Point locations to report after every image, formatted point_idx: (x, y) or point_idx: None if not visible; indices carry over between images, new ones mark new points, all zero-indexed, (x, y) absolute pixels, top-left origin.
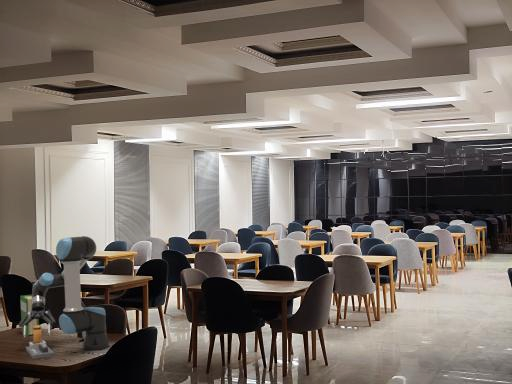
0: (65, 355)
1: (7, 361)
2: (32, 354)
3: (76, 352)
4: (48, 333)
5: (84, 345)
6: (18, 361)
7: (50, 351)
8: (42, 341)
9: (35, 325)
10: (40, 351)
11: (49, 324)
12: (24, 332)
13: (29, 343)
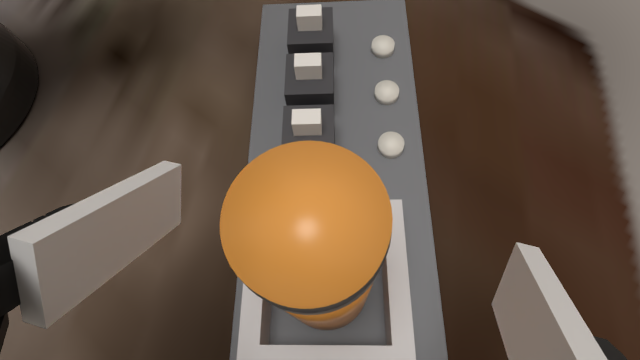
0: (203, 8)
1: (575, 50)
2: (407, 26)
3: (118, 41)
4: (180, 179)
5: (16, 62)
6: (497, 15)
7: (274, 42)
8: (262, 314)
9: (328, 301)
10: (339, 80)
11: (43, 225)
12: (539, 270)
13: (413, 353)
